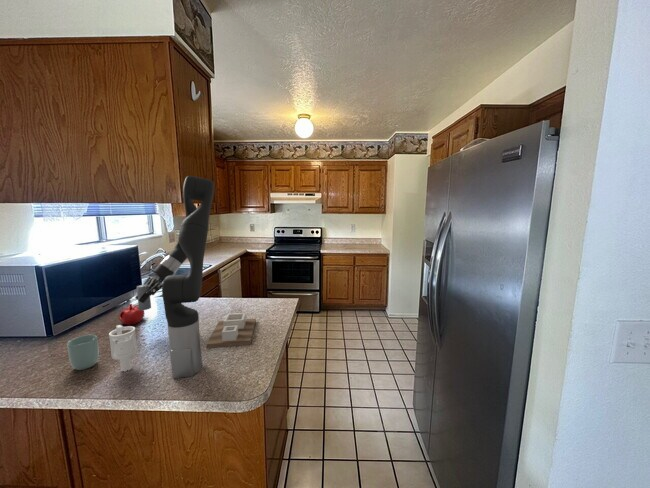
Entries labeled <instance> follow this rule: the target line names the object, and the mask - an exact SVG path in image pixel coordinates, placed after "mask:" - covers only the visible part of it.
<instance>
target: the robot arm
mask: <svg viewBox="0 0 650 488" xmlns="http://www.w3.org/2000/svg"><path fill="white" fill-rule="evenodd" d="M182 192H183V193H182V196H183V204H184V212H185V213H184V215H185V218H184V219H183V220H182V222H181V223H180V228H179V231H178V232H179V233H178V237H177V238H178V240H177V243H176V244H175V246H174V248H172V250H171V251H170V252H169V253H168V255H166V256H165V258H163V259H162V260H161V262H160V263H158V265H157V266H156V267H155V268H154V269H153V270H152V273H153V274H154V275H153V276H151V277H150V276H149V277H147V279H146V280H145V281H144V283H142V285H149V286H148V289H147V291H146V292H145V293H144V294H143V295H142V296H141V298H140V299H139V301H140V302H142V303H144V302H145V301H146V300H147V298H148V297H149V296H150V297H151V296H154V295H155V294H156V293H157V292H159V291H160V290H161V292H162V293H161V294H162V301H163V307H164V314H165V318H166V322H167V332H168V347H169V354H170V365H171V374H172V379H178V378H190V377H193V376H194V375H195V374H197V373H198V372H200V371H201V369H202V368H203V360H202V358H203V356H202V348H201V347H202V344H201V333H200V318H199V315H200V314H199V312H198V311H197V310H196V309H195V308H191V307H188V306H185V303H188V304H189V303H195V302H198V301H199V300H200V297H201V294H202V288H203V274H204V258H205V254H206V253H205V252H206V245H207V240H208V235H209V234H208V233H209V224H210V222H209V221H210V214H211V208H212V205H213V204H212V203H213V199H214V195H215V183H214V181H212V179H209V178H208V179H207V178H204V177H199V176H194V175H187V176H186V177H185V179H184V182H183V190H182ZM194 201H199V202H201V203H200V205H199V206H198V207H197V206H196V204H195V203H194ZM186 260H188V262H189V265H190V270H189V274H176V272H177V271H179V269H180V267H181V266H182V265H183V264H184V262H185V261H186ZM134 298H135V299H136V300H137V301H138V296H137V295H135V297H134Z"/></svg>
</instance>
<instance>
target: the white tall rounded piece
mask: <svg viewBox="0 0 650 488" xmlns="http://www.w3.org/2000/svg"><path fill="white" fill-rule="evenodd" d="M115 327H116V328H115V329H113V330H111V331H110V332H109V333H108V337H109V344H110V355H111V359H112V360H115V361H116V360H118V361H119V365H120V370H121V372H123V371H124V372H128V371H130V370H131V369H133V364H132V363H133V362H132V357H133V356H134V355H136V354H137V353H138V345H137V336H136V327H135V326H131V325H127V326H123V325H122V324H117V325H116V326H115ZM123 331H128V332H126V333H123ZM116 341H117V342H116ZM127 370H128V371H127Z"/></svg>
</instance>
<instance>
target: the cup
mask: <svg viewBox="0 0 650 488" xmlns="http://www.w3.org/2000/svg"><path fill="white" fill-rule="evenodd" d="M66 347H67V353H68V360H69V363H70V365H71V367H72V368H73V369H74V370H77V371H83V370H87V369H90V368H92V367H93V366H95V365H96V364H97V363H98V361H99V357H100V349H99V348H100V347H99V341H98V336H97V335H96V334H92V333H91V334H84V335H81V336H77V337H74V338H73V339H70V340H68V342H67V344H66Z"/></svg>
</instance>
